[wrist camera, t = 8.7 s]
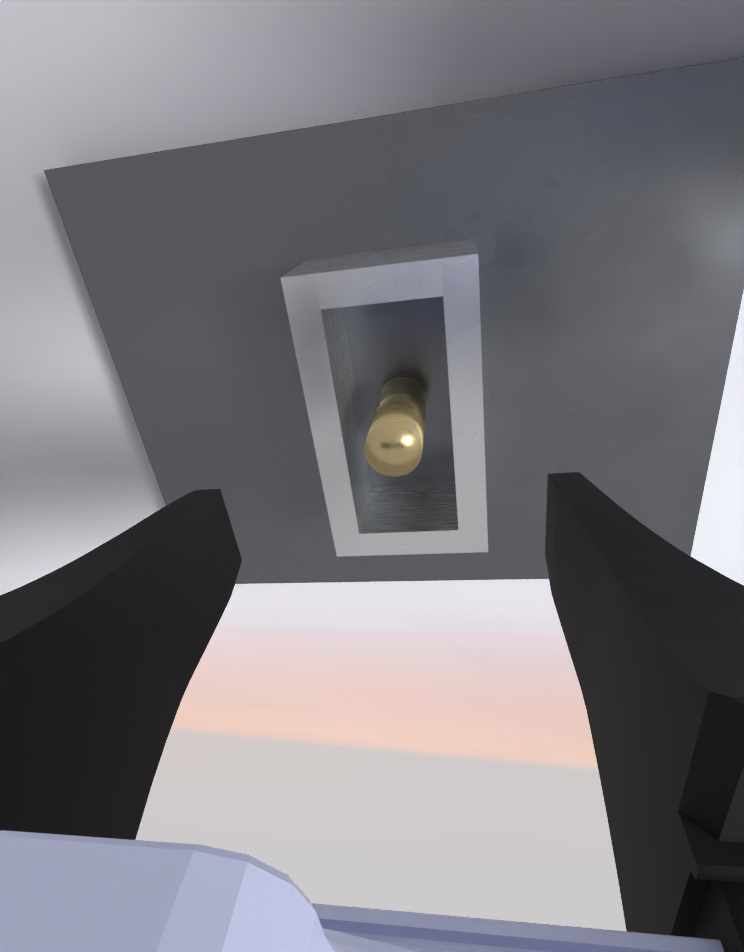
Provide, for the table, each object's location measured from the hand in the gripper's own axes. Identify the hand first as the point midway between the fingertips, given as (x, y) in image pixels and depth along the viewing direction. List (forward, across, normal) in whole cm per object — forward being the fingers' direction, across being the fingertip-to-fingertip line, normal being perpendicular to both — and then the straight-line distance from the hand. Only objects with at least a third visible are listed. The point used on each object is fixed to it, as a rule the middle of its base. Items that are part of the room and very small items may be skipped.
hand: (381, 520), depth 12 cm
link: (+7, 0, 0) cm, 7 cm away
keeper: (+8, 0, 0) cm, 8 cm away
